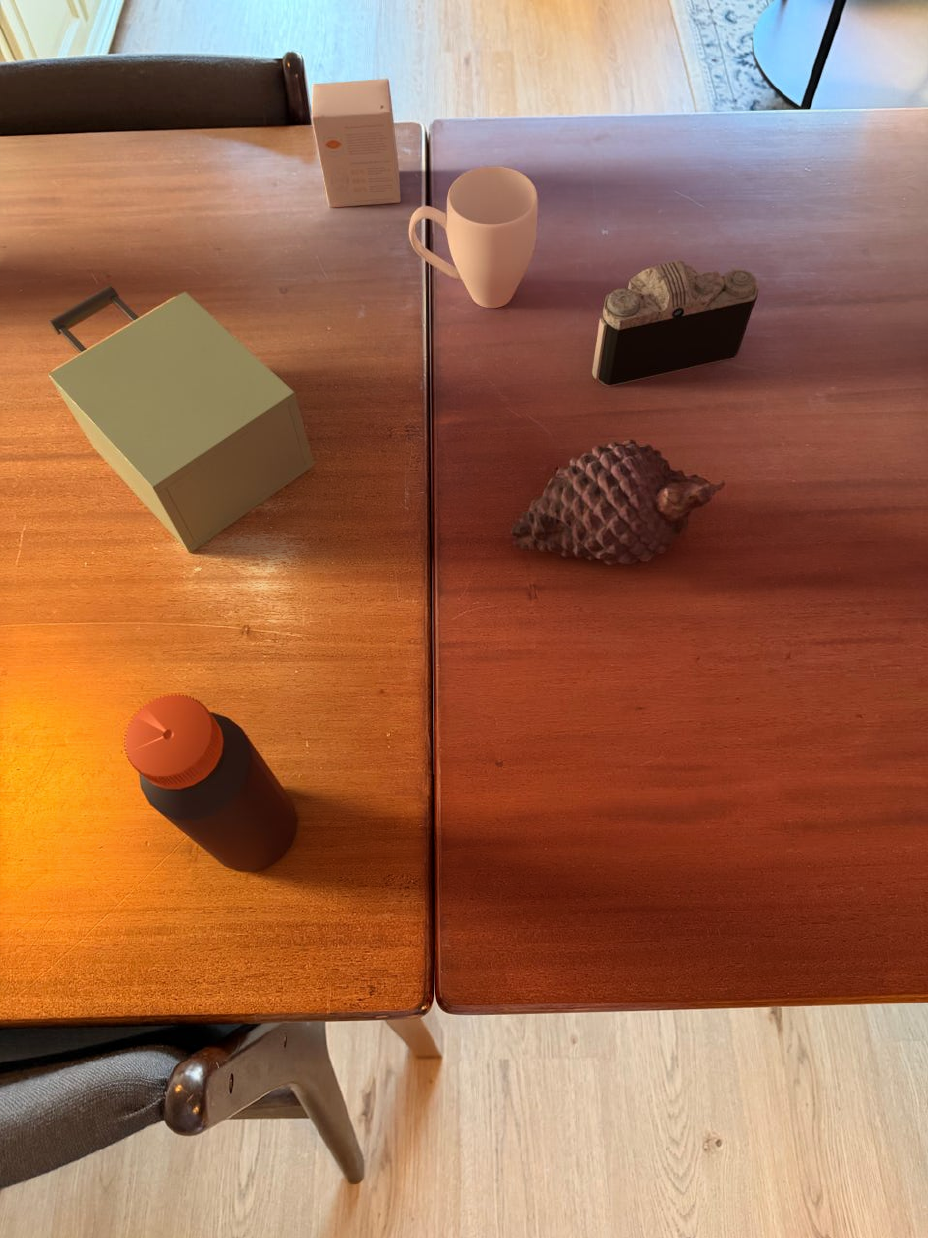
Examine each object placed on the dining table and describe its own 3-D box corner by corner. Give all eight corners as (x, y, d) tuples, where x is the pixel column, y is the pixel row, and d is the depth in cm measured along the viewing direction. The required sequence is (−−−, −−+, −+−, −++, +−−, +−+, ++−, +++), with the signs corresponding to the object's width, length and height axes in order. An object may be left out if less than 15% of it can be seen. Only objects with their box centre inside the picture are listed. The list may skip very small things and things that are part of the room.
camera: (717, 308, 90) (742, 223, 81) (744, 358, 87) (773, 275, 78) (576, 339, 88) (586, 256, 80) (598, 391, 85) (611, 310, 77)
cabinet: (93, 447, 84) (47, 373, 75) (215, 369, 88) (185, 290, 79) (189, 553, 78) (152, 487, 70) (315, 465, 82) (294, 391, 74)
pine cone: (527, 611, 75) (492, 507, 70) (525, 552, 83) (494, 455, 78) (743, 559, 71) (723, 445, 66) (719, 502, 79) (700, 397, 74)
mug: (531, 263, 93) (536, 163, 83) (534, 322, 90) (539, 225, 80) (416, 265, 94) (407, 166, 84) (413, 324, 90) (403, 227, 80)
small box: (399, 170, 101) (390, 76, 91) (401, 204, 98) (392, 111, 89) (327, 174, 101) (311, 81, 91) (327, 208, 98) (310, 116, 89)
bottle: (195, 864, 66) (87, 783, 48) (223, 776, 69) (131, 669, 51) (284, 881, 65) (208, 805, 47) (309, 791, 68) (245, 688, 50)
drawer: (48, 386, 86) (9, 324, 79) (159, 319, 90) (131, 254, 83) (176, 526, 78) (146, 472, 71) (291, 446, 82) (273, 387, 75)
